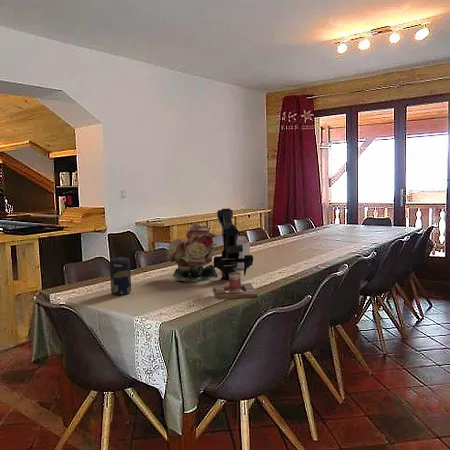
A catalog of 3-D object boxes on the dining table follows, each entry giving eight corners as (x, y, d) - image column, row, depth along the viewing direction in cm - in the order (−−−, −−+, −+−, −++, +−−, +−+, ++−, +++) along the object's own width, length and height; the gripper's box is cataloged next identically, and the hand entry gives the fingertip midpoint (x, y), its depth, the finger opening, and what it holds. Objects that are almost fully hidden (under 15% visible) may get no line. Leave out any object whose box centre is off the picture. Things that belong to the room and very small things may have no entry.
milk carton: (240, 265, 270) (239, 235, 268) (250, 267, 265) (249, 235, 263) (233, 268, 264) (232, 236, 262) (243, 269, 260) (242, 237, 258)
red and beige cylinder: (226, 292, 209) (226, 273, 208) (236, 290, 212) (236, 271, 211) (233, 294, 204) (232, 275, 203) (243, 292, 207) (242, 273, 206)
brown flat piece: (214, 288, 217) (214, 285, 217) (250, 286, 219) (250, 283, 219) (217, 299, 197) (217, 295, 197) (257, 296, 199) (257, 293, 199)
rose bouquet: (163, 276, 248) (161, 222, 244) (212, 270, 258) (210, 219, 255) (175, 286, 224) (173, 227, 221) (228, 279, 234) (227, 223, 231)
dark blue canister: (133, 290, 217) (131, 254, 215) (129, 295, 207) (127, 257, 206) (113, 291, 217) (111, 255, 215) (109, 296, 207) (107, 258, 205)
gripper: (213, 239, 209) (215, 267, 199) (252, 238, 210) (256, 265, 201) (212, 253, 217) (214, 280, 207) (250, 251, 219) (254, 278, 209)
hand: (235, 276), depth 206 cm, fingers open, 9 cm apart
